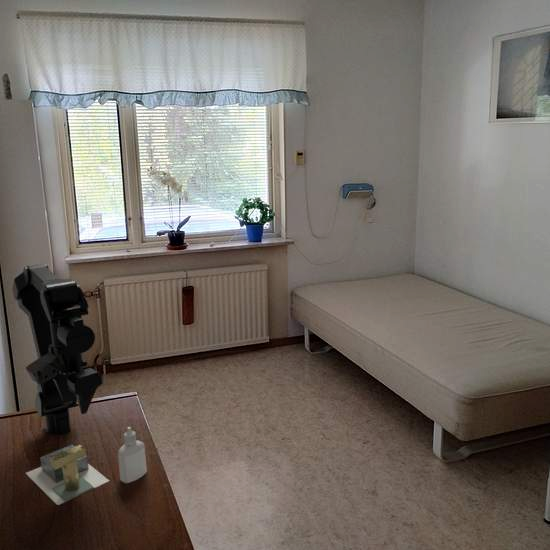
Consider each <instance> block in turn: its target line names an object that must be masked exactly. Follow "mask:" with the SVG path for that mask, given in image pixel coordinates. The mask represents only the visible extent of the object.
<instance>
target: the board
mask: <svg viewBox="0 0 550 550" xmlns="http://www.w3.org/2000/svg"><path fill="white" fill-rule="evenodd" d="M88 467H89V469H87V470H85V471H83V472H81V473H78V476H82V477H83V478H84V479H85V480H86V481H87V482H89V483H90V484H91V485H92V486H93V487H94V488H93V489H92V490H94V489H96V488H98V487H99V486H102V485H105V484H106V483H108V482H110V479H108V478H107V477H105V475H104V474H102V473H100V472H99V471H98V469H96V468H95V467H94V466H92V465H91V464H89V463H88ZM25 474H26V475H27V476H28V477H29V479H30V480H32V481H33V482H34V483H35V485H37V487H39V488H40V490H42V491H43V492H44V493H45V495H46V496H47V497H48V498H49V499H51V500H52V502H53V503H55V504H56V505H57V506H59V505H61V504H64V503H66V502H67V501H64V500H63V499H62V498H61V497H60V496H59V495H58V494H57V493H56V492H55V491H54V490H53V489H52V488H53V487H55V486H57V485H59V484H62V483H64V480H62V481H60V482H58V483H55V482H54V481H53V480H52V479H51V478H50V477H49V476H48V475H47V474H46V473H44V472H43V471H42V468H41V466H38V467H37V468H34V469H32V470H29V471H27V472H25ZM81 495H84V493H82V494H80V495H78V496H76V497H79V496H81ZM76 497H75V498H76Z"/></svg>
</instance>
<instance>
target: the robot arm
mask: <svg viewBox="0 0 550 550" xmlns="http://www.w3.org/2000/svg"><path fill="white" fill-rule="evenodd" d="M12 283H13V284H12V294H13V299H14V300H15V301H17V304H18V309H20V310H21V311H23V312H24V314H26V315H27V316H28V321H29V325H30V330H31V334H32V337H33V342H34V343H33V344H34V347H35V350H36V355H37V359H35V360H34V361H32V362H31V363H30V364H28V365H26V367H25V370H26V371H27V374H28V375H29V376H30V379H31V380H32V381H33V382H35V383H37V385H36V386H37V387H36V388H37V392H36V395H35V400H34V405H35V409H36V412H37V413H38V414H39V416H40V417H41V418H42V417H44V421H45V428H42V429H41V433H45V432H46V433H48V434H51V435H57V436H62V435H65V434H68V433H70V432H71V430H72V429H71V428H72V421H71V414H70V409H73V408H77V404H78V408H79V412H80V414H81V415H85V414H87V413H88V410H89V408H90V405H91V403H92V400H93V398H94V396H95V393H97V389H98V388H99V387H101V386H103V384H104V376H103V374H102V373H100V372H99V371H97V370H95V369H94V368H92V367H89V368H86V369H82V368H83V367H88V361H87V360H86V359H84V357H83V356H84V355H83V353H87V352H88V351H89V350H90V349H91V348H92V347H93V345H94V344H95V341H96V334H95V333H94V330H93V329H92V328H91V327H90V326H89V325H87V324H86V323H84V319H83V318H82V317H83V316H86V315H87V316H88V315H89V310H88V309H89V303H88V300H87V298H86V296H85V295H86V294H85V293H84V291H83V289H82V288H81V286H80V284H77V282H76V281H75V280H73V279H69V278H60V277H59V276H57V275H56V274H55V273H54V272H53V271H52V270H51V269H50V268H49V265H48V264H44V263H38V264H29V265H27V266H25V267H23V270H22V272H21V273H20V274H19V275H17V276H16V277H15V278H14V279H13V282H12Z"/></svg>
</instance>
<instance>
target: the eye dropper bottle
mask: <svg viewBox="0 0 550 550" xmlns="http://www.w3.org/2000/svg"><path fill="white" fill-rule="evenodd" d="M123 442H124V444H122V445H121V447H120V448H119V449H118V452H117V459H118V460H117V461H118V471H119V480H120V481H121V482H122V483H124V484H129V483H131V482H134V481H137V480H139V479H140V478H142V477H143V476H144V475H146V473H148V469H147V468H148V467H147V457H146V449H145V443H144V442H143V441H141V440H138V439H137V432H136V431H135V430H132V427H131V426H128V427H127V429H126V431H125V433H123Z"/></svg>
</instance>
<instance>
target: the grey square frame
mask: <svg viewBox="0 0 550 550" xmlns="http://www.w3.org/2000/svg"><path fill="white" fill-rule="evenodd" d="M74 447H76V445H73V444H70V445H68V446H65V447H62V448H59V449H57V450H55V451H52V452H50V453H48V454H44V455H42V456H41V457H39V459H40V467H41V468H42V471H43V472H44V473H46V474H47V475H48V476H49V477H50V478H51V479H52V480H53V481H54V482H55V483H58V482H60V481H62V480H64V477H63V470H62V467H60V468H58V469H56V470H55V469H54V468H53V467H52V466H51V462H50V457H52V456H55V455H57V454H59V453H62V452H64V451H66V450H69V449H71V448H74ZM76 461H77V469H78V473H81V472H83V471H85V470H87V469H89V467H88V464H89V461H88V455H86V456H85V457H83V458H81V459H78V460H76Z"/></svg>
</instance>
